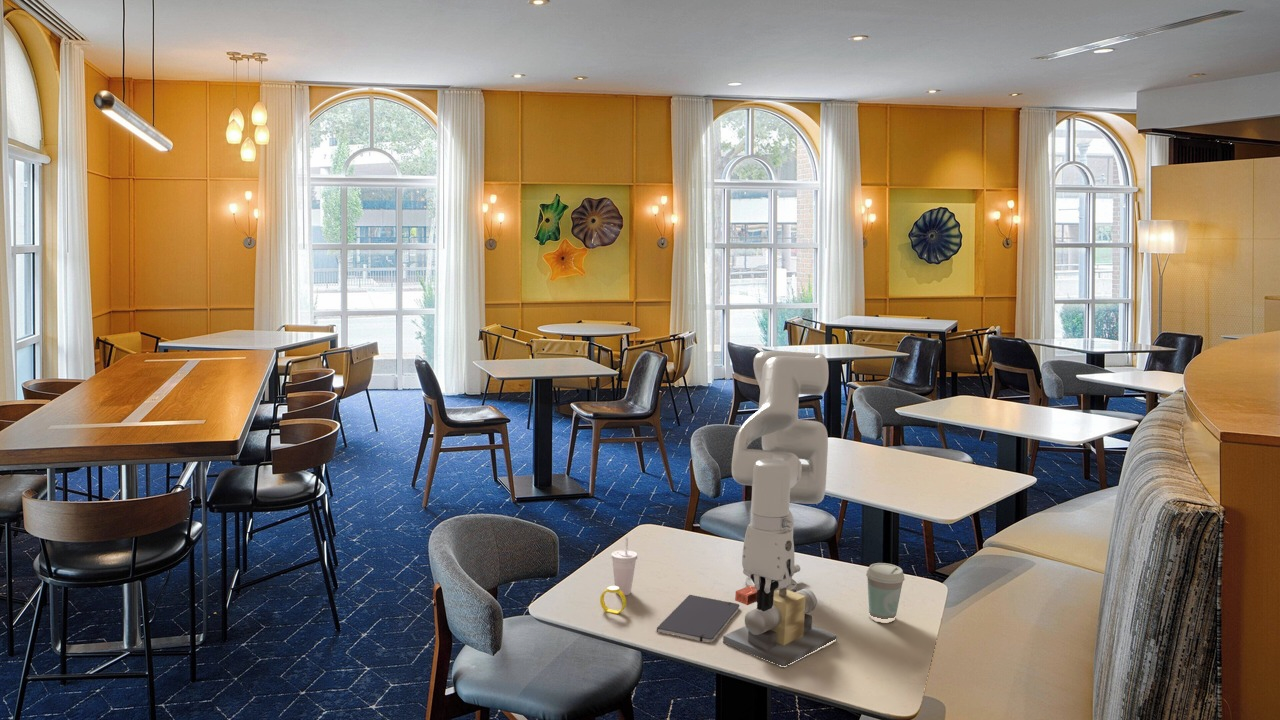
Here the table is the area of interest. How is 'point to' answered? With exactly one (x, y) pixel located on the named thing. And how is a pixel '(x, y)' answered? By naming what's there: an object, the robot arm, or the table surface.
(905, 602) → the table surface
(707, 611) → the notebook
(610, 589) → the watch
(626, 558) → the smoothie
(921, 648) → the table surface
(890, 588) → the coffee cup
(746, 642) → the valve stand
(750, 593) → the lever
